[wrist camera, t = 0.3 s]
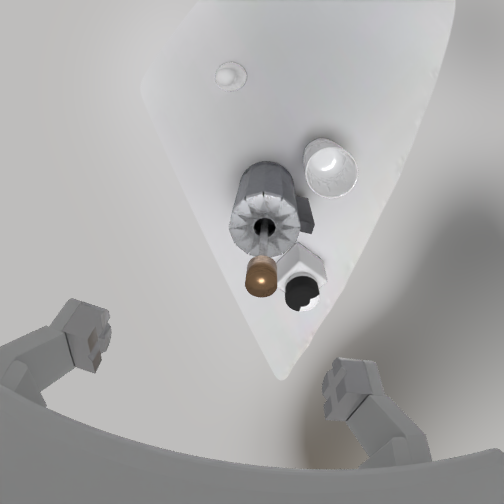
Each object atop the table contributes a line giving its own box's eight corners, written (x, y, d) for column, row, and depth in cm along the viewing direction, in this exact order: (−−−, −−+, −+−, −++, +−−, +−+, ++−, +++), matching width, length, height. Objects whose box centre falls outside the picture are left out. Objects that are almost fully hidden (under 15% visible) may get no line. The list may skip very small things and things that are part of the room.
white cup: (290, 153, 53) (294, 169, 44) (325, 125, 49) (337, 136, 41) (318, 186, 55) (326, 208, 47) (352, 160, 52) (368, 177, 44)
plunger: (247, 184, 45) (233, 249, 30) (293, 194, 46) (304, 264, 30) (238, 224, 49) (222, 303, 33) (281, 234, 49) (284, 315, 34)
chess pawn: (252, 82, 46) (248, 83, 39) (225, 96, 48) (216, 100, 40) (237, 57, 44) (230, 53, 37) (210, 71, 46) (199, 71, 38)
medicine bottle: (274, 264, 65) (273, 303, 54) (297, 241, 61) (301, 277, 51) (300, 282, 66) (304, 322, 56) (323, 260, 63) (332, 298, 53)
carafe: (245, 156, 53) (236, 186, 40) (312, 171, 54) (326, 208, 40) (235, 205, 58) (223, 250, 45) (297, 219, 59) (305, 267, 45)
